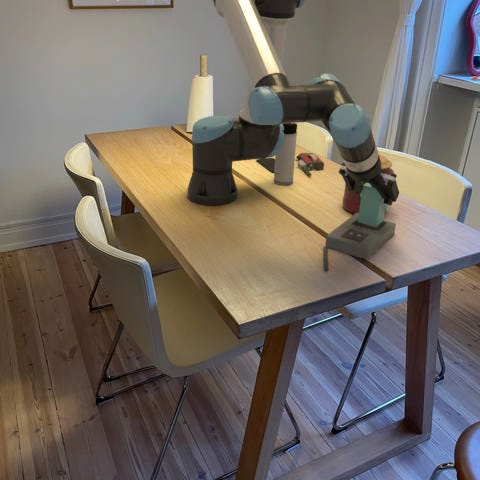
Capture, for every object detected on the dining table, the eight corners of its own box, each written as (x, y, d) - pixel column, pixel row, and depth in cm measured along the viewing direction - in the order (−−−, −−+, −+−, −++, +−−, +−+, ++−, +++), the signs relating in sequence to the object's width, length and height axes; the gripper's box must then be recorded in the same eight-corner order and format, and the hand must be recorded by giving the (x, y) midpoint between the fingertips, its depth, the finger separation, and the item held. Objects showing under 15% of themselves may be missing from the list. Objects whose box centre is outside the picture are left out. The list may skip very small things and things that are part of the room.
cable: (328, 272, 111) (328, 268, 110) (323, 271, 111) (324, 267, 110) (327, 249, 120) (327, 245, 120) (323, 248, 120) (323, 245, 120)
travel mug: (270, 183, 160) (273, 122, 151) (278, 177, 165) (282, 118, 156) (287, 187, 157) (292, 125, 148) (295, 180, 163) (300, 120, 153)
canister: (354, 219, 137) (363, 158, 128) (334, 201, 148) (341, 144, 140) (395, 215, 140) (407, 155, 132) (373, 198, 151) (382, 142, 143)
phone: (272, 172, 168) (255, 159, 180) (272, 175, 169) (254, 161, 181) (292, 170, 171) (273, 157, 183) (291, 172, 171) (273, 159, 183)
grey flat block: (367, 260, 116) (369, 247, 114) (325, 246, 121) (326, 234, 120) (394, 233, 129) (396, 221, 127) (355, 222, 135) (356, 211, 133)
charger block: (376, 227, 123) (383, 185, 118) (357, 221, 126) (363, 180, 121) (383, 220, 127) (390, 179, 122) (365, 215, 129) (371, 175, 124)
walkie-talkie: (290, 160, 183) (306, 178, 166) (291, 148, 181) (307, 166, 164) (313, 159, 185) (331, 177, 167) (314, 148, 183) (332, 165, 165)
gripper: (318, 164, 112) (340, 208, 131) (394, 182, 103) (407, 226, 122) (331, 137, 113) (351, 184, 133) (407, 152, 104) (417, 200, 124)
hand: (378, 204), depth 128 cm, fingers closed on charger block, 5 cm apart
